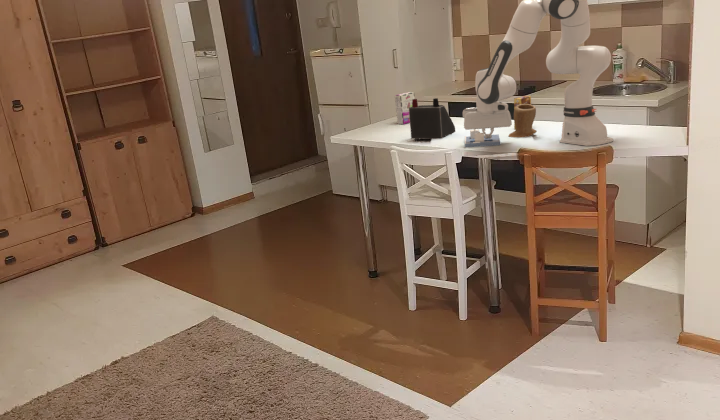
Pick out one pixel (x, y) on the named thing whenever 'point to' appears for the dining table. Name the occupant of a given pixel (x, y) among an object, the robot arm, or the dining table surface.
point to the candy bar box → (403, 107)
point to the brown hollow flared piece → (524, 120)
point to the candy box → (521, 102)
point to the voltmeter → (429, 121)
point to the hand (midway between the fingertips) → (488, 138)
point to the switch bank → (487, 142)
